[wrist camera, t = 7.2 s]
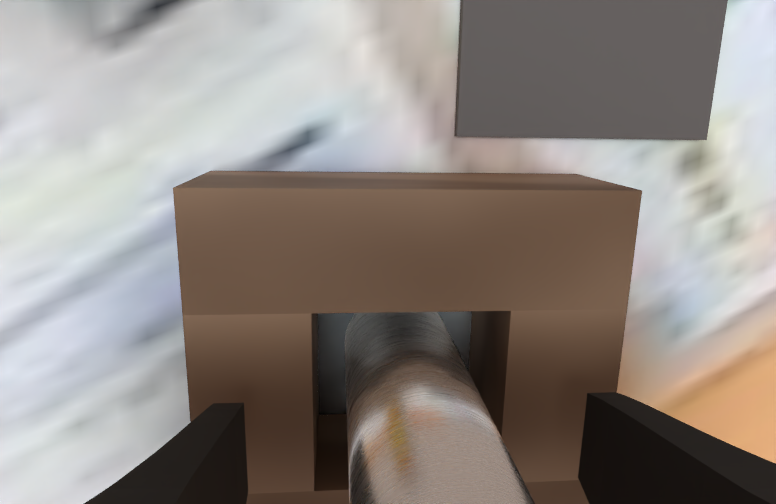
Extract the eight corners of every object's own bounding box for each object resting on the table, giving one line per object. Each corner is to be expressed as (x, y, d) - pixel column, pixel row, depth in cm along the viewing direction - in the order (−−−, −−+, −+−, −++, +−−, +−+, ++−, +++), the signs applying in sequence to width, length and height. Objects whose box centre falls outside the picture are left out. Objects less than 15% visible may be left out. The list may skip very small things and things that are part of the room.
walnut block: (545, 484, 18) (594, 570, 15) (229, 498, 17) (203, 593, 14) (576, 174, 16) (641, 190, 12) (210, 171, 15) (173, 187, 11)
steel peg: (442, 388, 17) (553, 679, 8) (343, 387, 17) (348, 689, 8) (449, 293, 16) (580, 503, 7) (346, 292, 16) (356, 506, 7)
